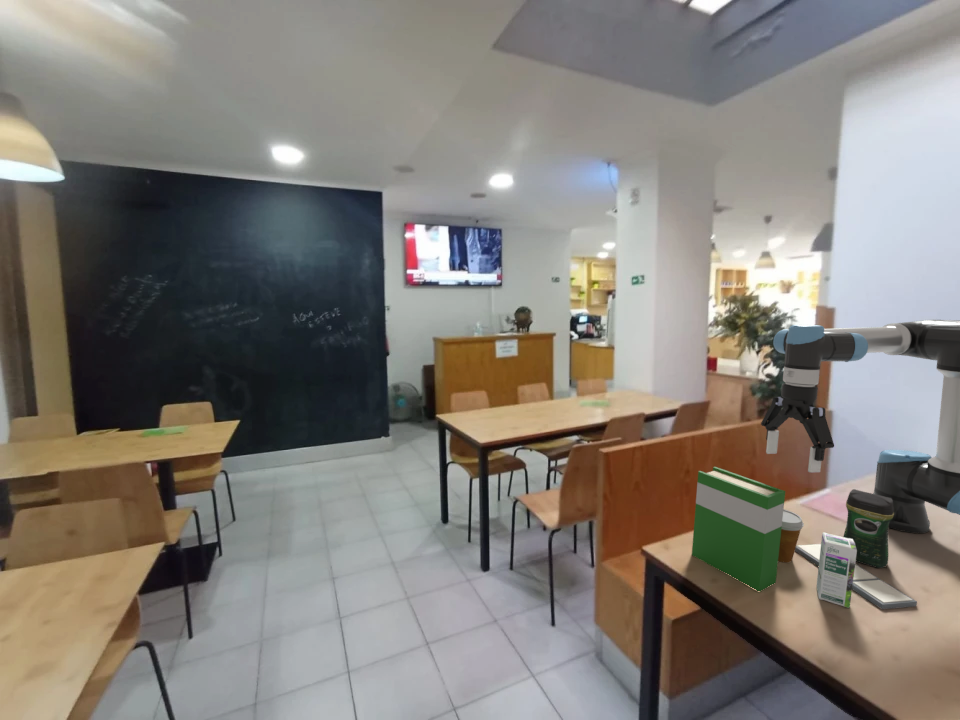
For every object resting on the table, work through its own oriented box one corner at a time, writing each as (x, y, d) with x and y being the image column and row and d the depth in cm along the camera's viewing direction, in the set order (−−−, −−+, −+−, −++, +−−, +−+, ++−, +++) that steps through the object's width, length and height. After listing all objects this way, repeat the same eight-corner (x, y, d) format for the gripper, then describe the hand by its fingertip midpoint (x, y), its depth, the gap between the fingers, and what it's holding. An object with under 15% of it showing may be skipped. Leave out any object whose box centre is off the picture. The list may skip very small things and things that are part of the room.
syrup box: (818, 599, 101) (825, 541, 99) (815, 585, 105) (822, 530, 104) (849, 609, 97) (857, 549, 96) (845, 594, 102) (853, 537, 100)
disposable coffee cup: (759, 560, 116) (763, 518, 114) (755, 543, 124) (759, 503, 123) (802, 570, 112) (807, 527, 110) (796, 552, 120) (800, 511, 118)
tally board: (821, 547, 122) (822, 543, 122) (916, 606, 99) (917, 600, 98) (793, 549, 121) (793, 544, 121) (882, 609, 97) (882, 603, 97)
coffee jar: (888, 560, 116) (897, 495, 114) (885, 572, 111) (895, 504, 108) (842, 545, 123) (850, 484, 121) (837, 556, 118) (845, 492, 115)
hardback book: (691, 554, 118) (698, 471, 115) (708, 547, 122) (715, 466, 119) (758, 592, 103) (768, 497, 100) (775, 583, 106) (785, 491, 103)
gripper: (751, 376, 124) (744, 447, 127) (831, 394, 99) (821, 481, 102) (774, 375, 125) (767, 446, 128) (859, 393, 100) (848, 480, 103)
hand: (791, 462), depth 115 cm, fingers open, 13 cm apart
